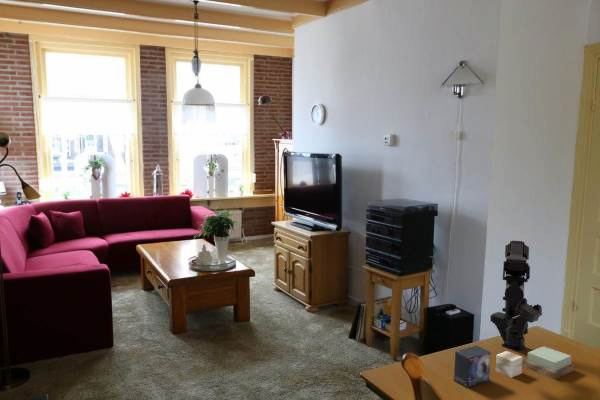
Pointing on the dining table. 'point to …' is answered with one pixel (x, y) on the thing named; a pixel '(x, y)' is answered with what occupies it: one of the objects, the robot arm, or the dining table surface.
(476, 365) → the small box
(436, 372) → the dining table surface
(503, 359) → the cream cube
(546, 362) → the sage slab
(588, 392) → the dining table surface
